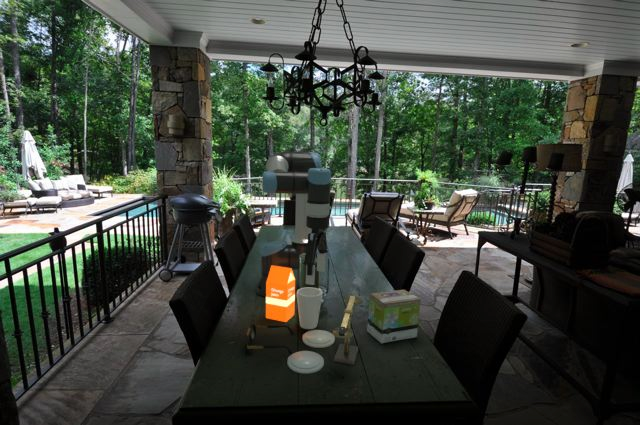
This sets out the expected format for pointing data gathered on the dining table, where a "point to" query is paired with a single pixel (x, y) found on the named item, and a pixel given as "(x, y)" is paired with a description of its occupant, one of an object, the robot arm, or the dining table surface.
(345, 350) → the balance
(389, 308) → the tea box
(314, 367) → the dish low
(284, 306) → the orange juice
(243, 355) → the dining table surface
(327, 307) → the dining table surface
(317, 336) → the dish high
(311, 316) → the foam cup
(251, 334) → the sunglasses
